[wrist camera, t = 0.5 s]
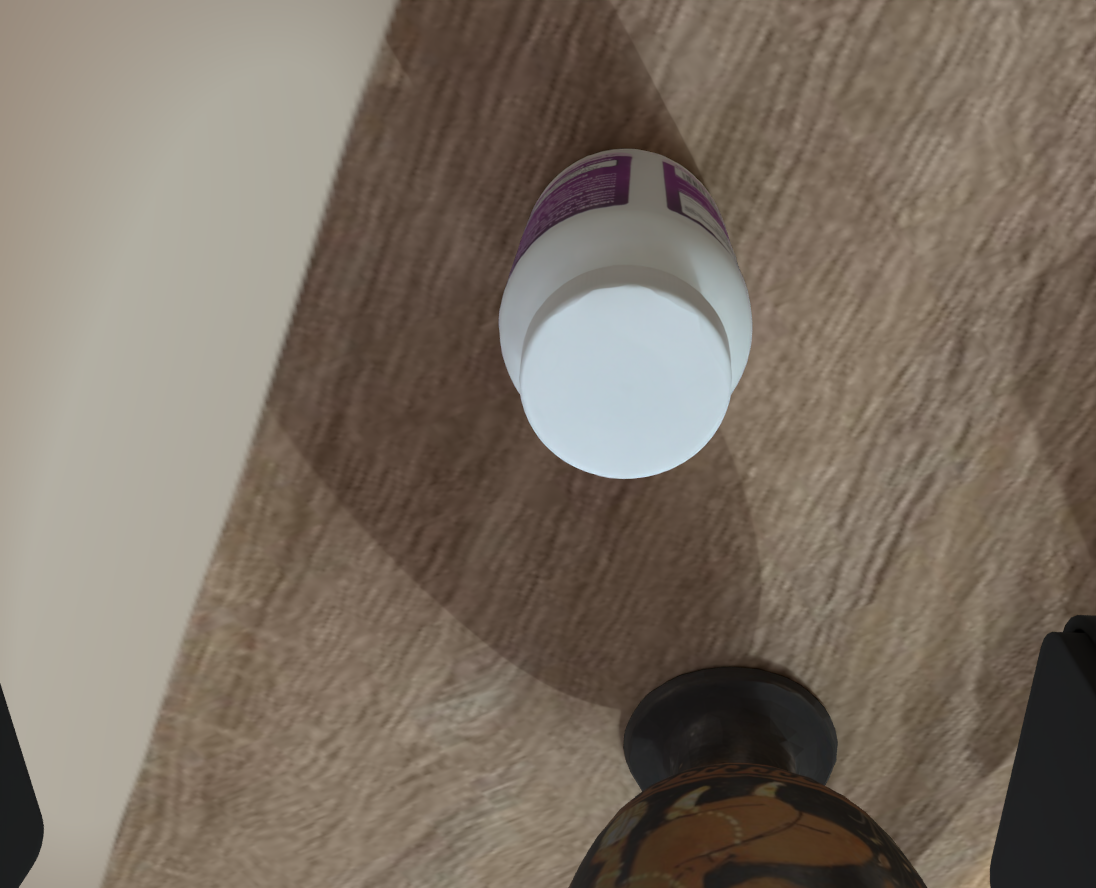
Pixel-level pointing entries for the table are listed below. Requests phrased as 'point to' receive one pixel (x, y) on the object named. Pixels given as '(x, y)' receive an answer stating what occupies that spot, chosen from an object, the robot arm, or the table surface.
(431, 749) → the table surface
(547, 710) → the table surface
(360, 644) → the table surface
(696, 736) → the vase
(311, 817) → the table surface
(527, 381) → the pill bottle
